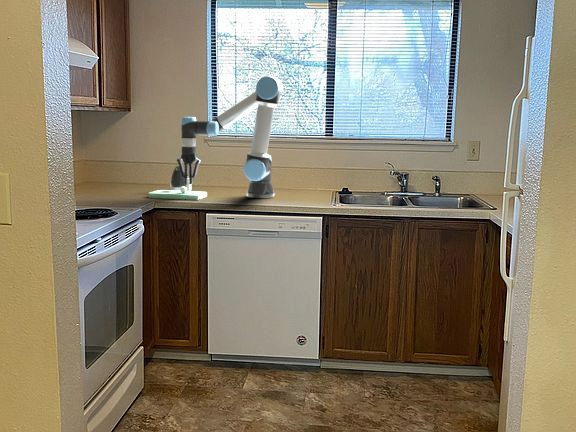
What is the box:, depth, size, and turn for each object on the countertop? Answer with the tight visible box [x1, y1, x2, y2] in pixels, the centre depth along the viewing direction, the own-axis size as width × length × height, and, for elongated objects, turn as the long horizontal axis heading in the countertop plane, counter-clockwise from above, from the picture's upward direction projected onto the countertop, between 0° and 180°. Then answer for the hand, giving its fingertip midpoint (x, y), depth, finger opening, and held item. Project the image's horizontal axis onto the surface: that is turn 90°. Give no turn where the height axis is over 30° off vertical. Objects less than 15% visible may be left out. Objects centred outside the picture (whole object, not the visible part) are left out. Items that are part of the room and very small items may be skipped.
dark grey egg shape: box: [169, 165, 187, 191], centre depth 336 cm, size 10×10×15 cm
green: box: [147, 189, 208, 201], centre depth 320 cm, size 28×14×2 cm, turn 78°
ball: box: [180, 187, 186, 193], centre depth 319 cm, size 3×3×3 cm
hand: (188, 190), depth 318 cm, fingers closed
